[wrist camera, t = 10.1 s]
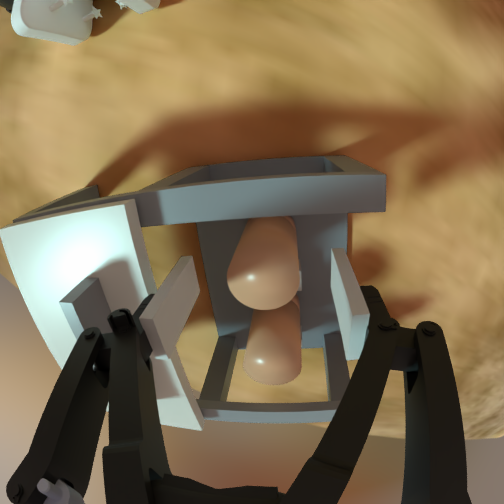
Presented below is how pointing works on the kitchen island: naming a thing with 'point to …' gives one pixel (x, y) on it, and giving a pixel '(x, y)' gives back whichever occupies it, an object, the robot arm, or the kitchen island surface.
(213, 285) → the housing
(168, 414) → the lid
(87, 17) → the cable organizer
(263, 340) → the seated rounded capsule
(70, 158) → the kitchen island surface
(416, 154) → the kitchen island surface
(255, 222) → the pink rounded capsule
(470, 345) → the kitchen island surface
